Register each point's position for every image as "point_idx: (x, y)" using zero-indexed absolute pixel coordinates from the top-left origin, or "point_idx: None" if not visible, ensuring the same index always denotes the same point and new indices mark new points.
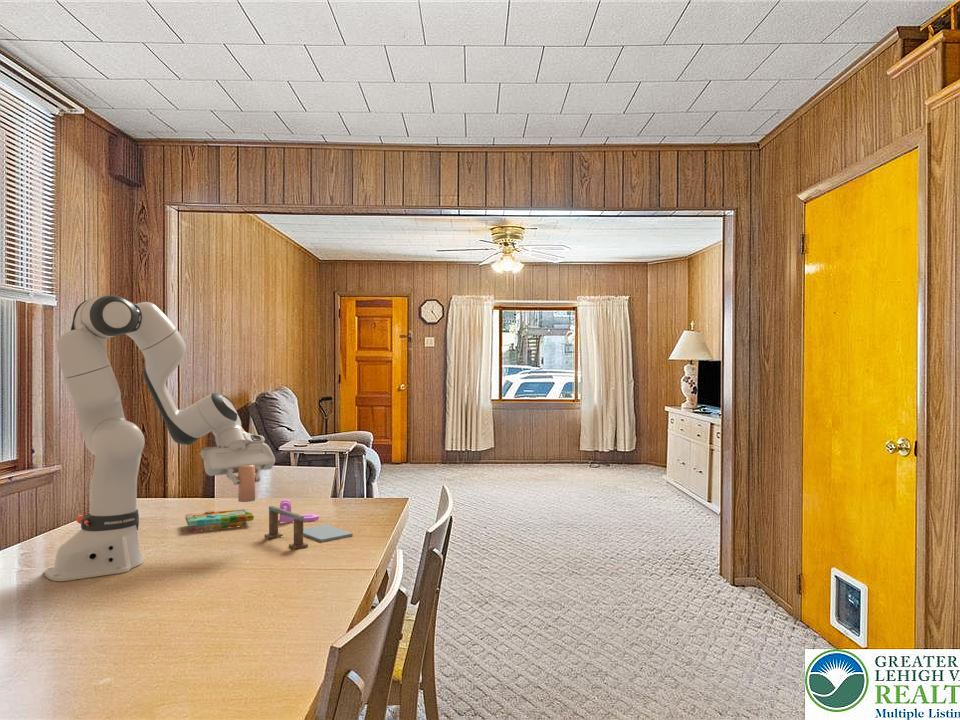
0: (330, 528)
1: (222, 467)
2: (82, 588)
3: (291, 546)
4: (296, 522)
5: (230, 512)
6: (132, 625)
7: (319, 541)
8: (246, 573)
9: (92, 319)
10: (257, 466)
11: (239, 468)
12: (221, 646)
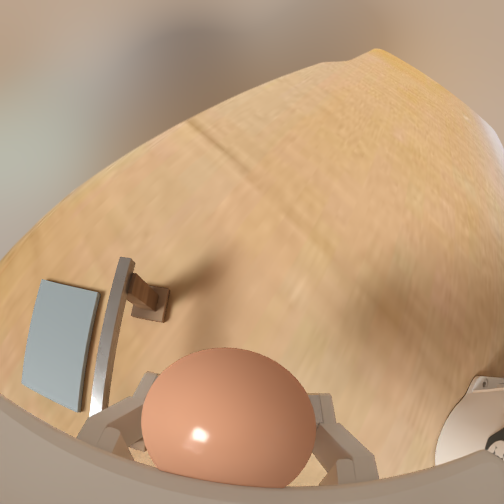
0: (33, 351)
1: (433, 469)
2: None
3: (165, 308)
4: (138, 278)
5: None
6: (469, 170)
7: (98, 301)
8: (336, 220)
9: None
10: (95, 443)
11: (311, 425)
12: (408, 96)
